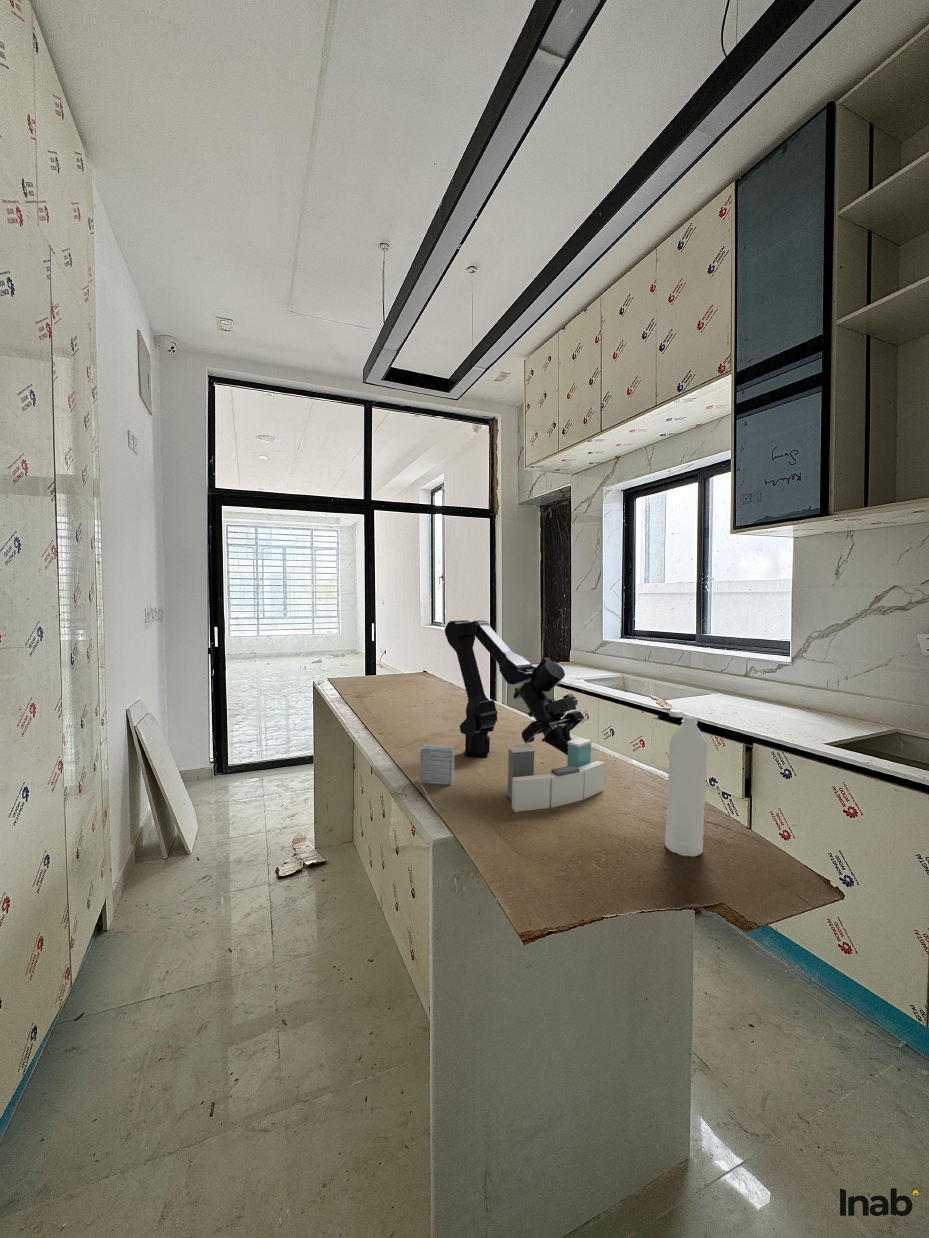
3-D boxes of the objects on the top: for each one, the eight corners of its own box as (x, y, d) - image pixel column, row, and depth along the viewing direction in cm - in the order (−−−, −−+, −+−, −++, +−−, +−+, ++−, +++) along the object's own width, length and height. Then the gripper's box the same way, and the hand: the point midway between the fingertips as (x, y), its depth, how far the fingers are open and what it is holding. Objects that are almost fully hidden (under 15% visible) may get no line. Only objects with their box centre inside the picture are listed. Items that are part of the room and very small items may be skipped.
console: (521, 816, 110) (521, 780, 109) (509, 809, 113) (510, 774, 113) (610, 794, 122) (611, 761, 122) (597, 788, 126) (599, 756, 125)
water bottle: (710, 856, 95) (717, 720, 94) (677, 858, 94) (683, 721, 92) (682, 833, 104) (688, 708, 102) (651, 835, 103) (657, 709, 101)
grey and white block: (506, 795, 120) (508, 745, 119) (527, 793, 122) (529, 744, 121) (512, 800, 117) (513, 749, 116) (533, 798, 119) (534, 748, 118)
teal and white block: (565, 789, 124) (567, 741, 123) (578, 784, 128) (580, 737, 127) (577, 793, 122) (578, 744, 121) (590, 788, 125) (591, 740, 125)
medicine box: (454, 779, 130) (454, 745, 130) (451, 786, 126) (452, 751, 125) (422, 777, 131) (423, 743, 130) (419, 784, 127) (419, 749, 126)
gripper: (532, 688, 122) (569, 745, 115) (579, 679, 135) (615, 731, 127) (506, 715, 129) (540, 771, 121) (553, 704, 141) (587, 754, 134)
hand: (572, 756), depth 126 cm, fingers closed, pressing on teal and white block
